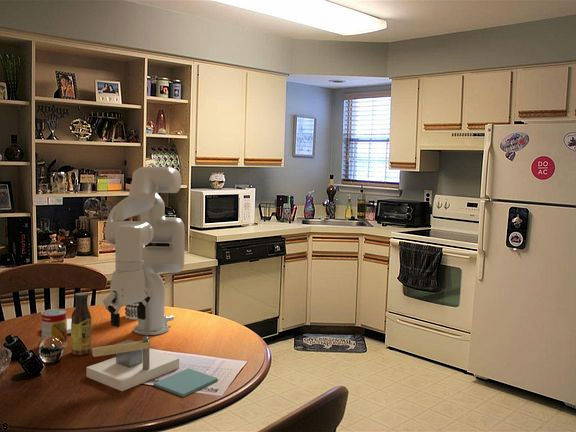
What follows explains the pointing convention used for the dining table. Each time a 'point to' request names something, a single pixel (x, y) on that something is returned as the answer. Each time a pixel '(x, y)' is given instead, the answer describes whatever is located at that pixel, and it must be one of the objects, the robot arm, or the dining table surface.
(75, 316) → the sauce bottle
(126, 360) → the grey stone cube
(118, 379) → the white slab
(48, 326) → the canned food
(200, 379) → the mat
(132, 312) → the decorative candle
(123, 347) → the lever
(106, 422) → the dining table surface
